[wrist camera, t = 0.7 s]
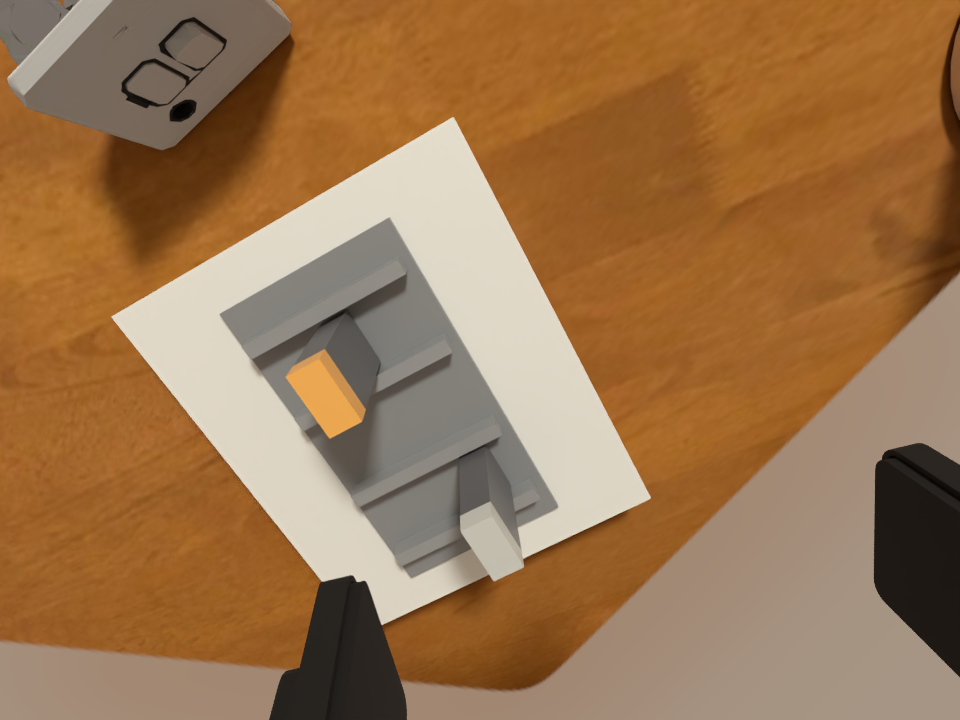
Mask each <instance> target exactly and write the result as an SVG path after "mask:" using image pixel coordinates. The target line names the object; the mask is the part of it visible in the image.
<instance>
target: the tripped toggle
mask: <svg viewBox="0 0 960 720" xmlns="http://www.w3.org/2000/svg"><path fill="white" fill-rule="evenodd" d="M379 365H380V359H379V358H378V356H377V355H376V353H375V352H374V350H373V349H372V347H371V346H370V344H369V342H368V341H367V339H366V338H365V336H364V335H363V333H362V332H361V330H360V329H359V327H358V325H357V324H356V322H355V321H354V319H353V318H352V316H351V315H350V313H349V311H348V310H346V311H344V312H342V313H340V314H339V315H337V316H335V317H333V318H331V319H330V320H328V321H326V322H324V323H322V324H321V325H320V326H319V328H318V329H317V331H316V332H315V334H314V335H313V337H312V338H311V340H310V341H309V343H308V344H307V346H306V347H305V349H304V350H303V352H302V353H301V355H300V356H299V358H298V359H297V361H296V362H295V364H294V365H293V367H292V368H291V370H290V371H289V373H288V374H287V376H286V379H287V380H288V381H289V383H290V384H291V386H292V387H293V388H294V390H295V391H296V393H297V394H298V395H299V397H300V398H301V400H302V401H303V402H304V404H305V405H306V407H307V408H308V409H309V411H310V412H311V414H312V415H313V416H314V418H315V419H316V421H317V422H318V423H319V425H320V426H321V428H322V429H323V430H324V432H325V433H326V435H327V436H328V437H329V439H330V438H332V437H334V436H336V435H338V434H340V433H342V432H344V431H345V430H347V429H349V428H351V427H353V426H355V425H357V424H359V423H361V422H362V421H363V417H364V414H365V411H366V408H367V404H368V401H369V398H370V394H371V391H372V388H373V384H374V381H375V378H376V375H377V371H378V368H379Z"/></svg>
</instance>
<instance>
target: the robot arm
mask: <svg viewBox="0 0 960 720" xmlns="http://www.w3.org/2000/svg"><path fill="white" fill-rule="evenodd" d="M951 91H952V97H953V102H954V108H955V111H956V113H957V116H958V118H959V120H960V25H959V28H958V31H957V34H956V37H955V43H954V48H953V54H952V59H951ZM874 583H875V587H876V589H877V592H878V594H879V595H880V597H881V598H882V600H883V601H884V602H885V603H886V604H887V605H888V606H889V607H890V608H891V609H892V610H893V611H894V612H895V613H896V614H897V615H898V616H899V617H900V618H901V619H902V620H903V621H904V622H905V623H906V624H907V625H908V626H909V627H910V628H911V629H912V630H913V631H914V632H915V633H916V634H917V635H918V636H919V637H920V638H921V639H922V640H923V641H924V642H925V643H926V644H927V645H928V646H929V647H930V648H931V649H932V650H933V651H934V652H935V653H936V654H937V655H938V656H939V657H940V658H941V659H942V660H943V661H944V662H945V663H946V664H947V665H948V666H949V667H950V668H951V669H952V670H953V671H954V672H955V673H956V674H957V675H958V676H959V677H960V465H959V464H957V463H956V462H954V461H952V460H950V459H949V458H947V457H946V456H944V455H942V454H941V453H939V452H937V451H936V450H934V449H932V448H931V447H929V446H927V445H925V444H922V443H916V444H912V445H908V446H904V447H899V448H895V449H891V450H888V451H886V452H885V453H884V454H883V456H882V460H880V461H879V462H878V463H877V464H876V469H875V530H874ZM269 720H407V708H406V699H405V694H404V690H403V687H402V684H401V681H400V678H399V675H398V672H397V669H396V667H395V664H394V661H393V658H392V655H391V652H390V649H389V646H388V643H387V640H386V637H385V634H384V631H383V628H382V625H381V622H380V619H379V616H378V613H377V610H376V607H375V604H374V601H373V598H372V595H371V593H370V590H369V587H368V584H367V582H366V581H361V582H357V581H356V579H355V578H354V576H353V575H349V576H345V577H341V578H336V579H332V580H328V581H323V582H321V583H320V585H319V588H318V592H317V596H316V600H315V605H314V609H313V613H312V618H311V622H310V626H309V630H308V635H307V639H306V643H305V648H304V652H303V656H302V660H301V665H300V668H297V669H293V670H289V671H286V672H285V673H284V674H283V675H282V677H281V679H280V682H279V685H278V689H277V692H276V696H275V700H274V704H273V707H272V711H271V715H270V719H269Z"/></svg>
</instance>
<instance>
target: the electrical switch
mask: <svg viewBox="0 0 960 720" xmlns="http://www.w3.org/2000/svg"><path fill="white" fill-rule="evenodd" d="M63 2H64V5H65V8H64V6H63V5H62V4H61V3H60V2H59V1H58V0H0V38H1V39H2V41H3V42H4V43H5V44H6V47H7V49H8V51H9V53H10V55H11V57H12V58H13V60H14V61H15V62H16V63H17V64H18V67H17V68H16V69H15V70H14V71H13V72H12V74H11V75H10V76H9V77H8V78H7V79H8V83H9V86H10V89H11V91H12V92H13V93H14V94H15V95H16V96H17V97H18V98H19V99H20V100H21V102H22V103H23V104H24V105H25V106H26V107H27V108H28V109H31V110H34V111H38V112H41V113H44V114H47V115H50V116H54V117H57V118H60V119H63V120H66V121H70V122H73V123H76V124H79V125H82V126H86V127H89V128H92V129H95V130H98V131H102V132H105V133H108V134H111V135H114V136H117V137H121V138H124V139H127V140H130V141H133V142H137V143H140V144H143V145H146V146H149V147H153V148H156V149H159V150H164V149H167V148H170V147H173V146H175V145H176V144H178V143H179V142H180V141H181V140H182V139H183V138H184V137H185V136H186V135H187V134H188V133H189V132H190V131H191V130H192V129H193V128H194V127H195V126H196V125H197V124H198V123H199V122H200V121H201V120H202V119H203V118H204V117H205V116H206V115H207V114H208V113H209V112H210V111H211V110H212V109H213V108H214V107H215V106H216V105H218V104H219V103H220V102H221V101H222V100H223V99H224V98H225V97H226V96H227V95H228V94H229V93H230V92H231V91H232V90H233V89H234V88H235V87H236V86H237V85H238V84H239V83H240V82H241V81H242V80H243V79H244V78H245V77H246V76H247V75H248V74H249V73H250V72H251V71H252V70H253V69H254V68H255V67H256V66H258V65H259V64H260V63H261V62H262V61H263V60H264V59H265V58H266V57H267V56H268V55H269V54H270V53H271V52H272V51H273V50H274V49H275V48H276V47H277V46H278V45H279V44H280V43H281V42H282V41H283V40H284V39H285V38H286V37H287V36H288V35H289V34H290V30H291V22H290V21H289V19H288V18H287V17H286V15H285V14H284V12H283V11H282V9H281V8H280V7H279V6H278V4H276V3H275V2H274V1H273V0H63ZM12 5H13V8H12V11H11V6H12ZM73 5H74V7H73V8H72V6H73Z"/></svg>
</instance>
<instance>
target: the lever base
mask: <svg viewBox="0 0 960 720" xmlns="http://www.w3.org/2000/svg"><path fill="white" fill-rule="evenodd" d="M346 310H348V311H349V313H350V315H351V316H352V318H353V319H354V321H355V322H356V324H357V325H358V327H359V329H360V330H361V332H362V333H363V335H364V336H365V338H366V339H367V341H368V342H369V344H370V346H371V347H372V349H373V350H374V352H375V353H376V355H377V356H378V358H379V359H380V365H379V368H378V371H377V375H376V378H375V381H374V384H373V388H372V391H371V394H370V398H369V401H368V404H367V408H366V411H365V414H364V417H363V421H362V422H361V423H359V424H357V425H355V426H353V427H351V428H349V429H347V430H345V431H344V432H342V433H340V434H338V435H336V436H334V437H332V438H330V439H329V437H328V436H327V435H326V433H325V432H324V430H323V429H322V428H321V426H320V425H319V423H318V422H317V421H316V419H315V418H314V416H313V415H312V414H311V412H310V411H309V409H308V408H307V407H306V405H305V404H304V402H303V401H302V400H301V398H300V397H299V395H298V394H297V393H296V391H295V390H294V388H293V387H292V386H291V384H290V383H289V381H288V380H287V379H286V376H287V374H288V373H289V371H290V370H291V368H292V367H293V365H294V364H295V362H296V361H297V359H298V358H299V356H300V355H301V353H302V352H303V350H304V349H305V347H306V346H307V344H308V343H309V341H310V340H311V338H312V337H313V335H314V334H315V332H316V331H317V329H318V328H319V326H320V325H321V324H322V323H324V322H326V321H328V320H330V319H331V318H333V317H335V316H337V315H339V314H340V313H342V312H344V311H346ZM112 319H113V320H114V321H115V322H116V324H117V325H118V326H119V327H120V329H121V330H122V331H123V332H124V334H125V335H126V336H127V337H128V339H129V340H130V341H131V342H132V344H133V345H134V346H135V347H136V349H137V350H138V351H139V352H140V354H141V355H142V356H143V357H144V359H145V360H146V361H147V363H148V364H149V365H150V366H151V368H152V369H153V370H154V371H155V373H156V374H157V375H158V376H159V378H160V379H161V380H162V381H163V383H164V384H165V385H166V386H167V388H168V389H169V390H170V391H171V393H172V394H173V395H174V396H175V398H176V399H177V400H178V401H179V403H180V404H181V405H182V406H183V408H184V409H185V410H186V411H187V413H188V414H189V415H190V416H191V418H192V419H193V420H194V422H195V423H196V424H197V425H198V427H199V428H200V429H201V430H202V432H203V433H204V434H205V435H206V437H207V438H208V439H209V440H210V442H211V443H212V444H213V445H214V447H215V448H216V449H217V450H218V452H219V453H220V454H221V455H222V457H223V458H224V459H225V460H226V462H227V463H228V464H229V465H230V467H231V468H232V469H233V470H234V472H235V473H236V474H237V475H238V477H239V478H240V479H241V481H242V482H243V483H244V484H245V486H246V487H247V488H248V489H249V491H250V492H251V493H252V494H253V496H254V497H255V498H256V499H257V501H258V502H259V503H260V504H261V506H262V507H263V508H264V509H265V511H266V512H267V513H268V514H269V516H270V517H271V518H272V519H273V521H274V522H275V523H276V524H277V526H278V527H279V528H280V529H281V531H282V532H283V533H284V534H285V536H286V537H287V538H288V540H289V541H290V542H291V543H292V545H293V546H294V547H295V548H296V550H297V551H298V552H299V553H300V555H301V556H302V557H303V558H304V560H305V561H306V562H307V563H308V565H309V566H310V567H311V568H312V570H313V571H314V572H315V573H316V575H317V576H318V577H319V578H320V580H321V581H322V582H323V581H328V580H332V579H336V578H341V577H345V576H349V575H353V576H354V578H355V579H356V581H357V582H361V581H366V582H367V584H368V587H369V590H370V593H371V595H372V598H373V601H374V604H375V607H376V610H377V613H378V616H379V619H380V622H381V625H383V624H385V623H387V622H390V621H392V620H394V619H396V618H398V617H400V616H402V615H404V614H407V613H409V612H411V611H413V610H415V609H417V608H419V607H421V606H424V605H426V604H428V603H430V602H432V601H434V600H436V599H438V598H441V597H443V596H445V595H447V594H449V593H451V592H453V591H455V590H458V589H460V588H462V587H464V586H466V585H468V584H470V583H472V582H475V581H477V580H479V579H481V578H483V577H485V576H487V575H490V576H491V578H492V579H493V581H496V580H498V579H500V578H502V577H504V576H506V575H509V574H511V573H513V572H515V571H517V570H519V569H521V568H524V562H523V559H524V558H526V557H528V556H530V555H532V554H534V553H536V552H538V551H541V550H543V549H545V548H547V547H549V546H551V545H553V544H555V543H558V542H560V541H562V540H564V539H566V538H568V537H570V536H572V535H575V534H577V533H579V532H581V531H583V530H585V529H587V528H589V527H592V526H594V525H596V524H598V523H600V522H602V521H604V520H606V519H609V518H611V517H613V516H615V515H617V514H619V513H621V512H623V511H626V510H628V509H630V508H632V507H634V506H636V505H638V504H640V503H643V502H645V501H647V500H649V499H651V497H650V495H649V493H648V491H647V490H646V488H645V486H644V484H643V482H642V480H641V478H640V476H639V474H638V472H637V470H636V468H635V466H634V464H633V462H632V461H631V459H630V457H629V455H628V453H627V451H626V449H625V447H624V445H623V443H622V441H621V439H620V437H619V435H618V434H617V432H616V430H615V428H614V426H613V424H612V422H611V420H610V418H609V416H608V414H607V412H606V410H605V408H604V406H603V405H602V403H601V401H600V399H599V397H598V395H597V393H596V391H595V389H594V387H593V385H592V383H591V381H590V379H589V378H588V376H587V374H586V372H585V370H584V368H583V366H582V364H581V362H580V360H579V358H578V356H577V354H576V352H575V350H574V349H573V347H572V345H571V343H570V341H569V339H568V337H567V335H566V333H565V331H564V329H563V327H562V325H561V323H560V322H559V320H558V318H557V316H556V314H555V312H554V310H553V308H552V306H551V304H550V302H549V300H548V298H547V296H546V294H545V293H544V291H543V289H542V287H541V285H540V283H539V281H538V279H537V277H536V275H535V273H534V271H533V269H532V267H531V266H530V264H529V262H528V260H527V258H526V256H525V254H524V252H523V250H522V248H521V246H520V244H519V242H518V240H517V238H516V237H515V235H514V233H513V231H512V229H511V227H510V225H509V223H508V221H507V219H506V217H505V215H504V213H503V211H502V209H501V208H500V206H499V204H498V202H497V200H496V198H495V196H494V194H493V192H492V190H491V188H490V186H489V184H488V182H487V181H486V179H485V177H484V175H483V173H482V171H481V169H480V167H479V165H478V163H477V161H476V159H475V157H474V155H473V153H472V152H471V150H470V148H469V146H468V144H467V142H466V140H465V138H464V136H463V134H462V132H461V130H460V128H459V126H458V125H457V123H456V121H455V119H454V117H452V118H451V119H449V120H447V121H446V122H444V123H442V124H440V125H439V126H437V127H435V128H434V129H432V130H430V131H428V132H427V133H425V134H423V135H422V136H420V137H418V138H416V139H415V140H413V141H411V142H410V143H408V144H406V145H405V146H403V147H401V148H399V149H398V150H396V151H394V152H393V153H391V154H389V155H387V156H386V157H384V158H382V159H381V160H379V161H377V162H375V163H374V164H372V165H370V166H369V167H367V168H365V169H363V170H362V171H360V172H358V173H357V174H355V175H353V176H351V177H350V178H348V179H346V180H345V181H343V182H341V183H339V184H338V185H336V186H334V187H333V188H331V189H329V190H327V191H326V192H324V193H322V194H321V195H319V196H317V197H315V198H314V199H312V200H310V201H309V202H307V203H305V204H304V205H302V206H300V207H298V208H297V209H295V210H293V211H292V212H290V213H288V214H286V215H285V216H283V217H281V218H280V219H278V220H276V221H274V222H273V223H271V224H269V225H268V226H266V227H264V228H262V229H261V230H259V231H257V232H256V233H254V234H252V235H250V236H249V237H247V238H245V239H244V240H242V241H240V242H238V243H237V244H235V245H233V246H232V247H230V248H228V249H226V250H225V251H223V252H221V253H220V254H218V255H216V256H215V257H213V258H211V259H209V260H208V261H206V262H204V263H203V264H201V265H199V266H197V267H196V268H194V269H192V270H191V271H189V272H187V273H185V274H184V275H182V276H180V277H179V278H177V279H175V280H173V281H172V282H170V283H168V284H167V285H165V286H163V287H161V288H160V289H158V290H156V291H155V292H153V293H151V294H149V295H148V296H146V297H144V298H143V299H141V300H139V301H137V302H136V303H134V304H132V305H131V306H129V307H127V308H126V309H124V310H122V311H120V312H119V313H117V314H115V315H114V316H112Z"/></svg>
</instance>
